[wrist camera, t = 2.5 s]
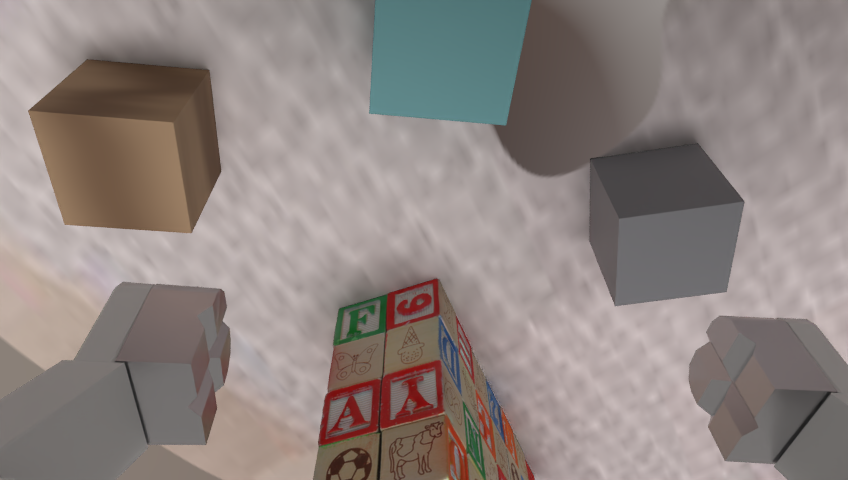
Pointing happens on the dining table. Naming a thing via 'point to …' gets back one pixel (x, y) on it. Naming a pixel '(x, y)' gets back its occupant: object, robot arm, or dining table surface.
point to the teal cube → (446, 58)
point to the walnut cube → (130, 145)
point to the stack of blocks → (411, 397)
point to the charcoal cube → (662, 224)
